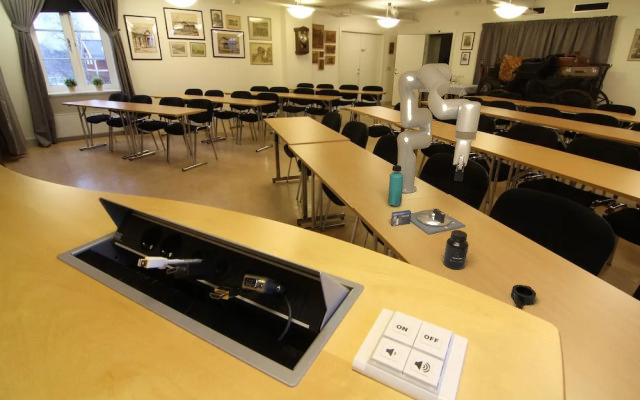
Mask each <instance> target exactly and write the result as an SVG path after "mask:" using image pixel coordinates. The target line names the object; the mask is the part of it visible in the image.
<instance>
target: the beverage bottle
mask: <svg viewBox="0 0 640 400" xmlns="http://www.w3.org/2000/svg"><path fill="white" fill-rule="evenodd" d="M391 170H392V171H393V172H391V173H390V174H389V181H388V182H389V183H388V195H387V196H388V198H387V199H388V200H387V203H388V204H389V205H391V206H401V204H402V200H403V193H402V191H403V190H402V188H403V174H402V173H400V171H401V166H399V165H397V164H396V165H393V166H392V168H391Z"/></svg>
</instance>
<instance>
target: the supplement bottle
mask: <svg viewBox="0 0 640 400" xmlns="http://www.w3.org/2000/svg"><path fill="white" fill-rule="evenodd" d="M467 240H468V234H467V233H466V231H463V230H460V229H454V230H451V232H450V237H449V238H447V239H446V243H445V248H444V255H443V261H442V262H443V263H442V264H443V265H444V266H445V267H447V268H449V269H451V270H462V269H463V268H464V267H465V266H466V261H467V255H468V251H469V245H470V244H469V242H468V241H467Z"/></svg>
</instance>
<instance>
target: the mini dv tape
mask: <svg viewBox="0 0 640 400" xmlns="http://www.w3.org/2000/svg"><path fill="white" fill-rule="evenodd" d="M411 213H412V211H411V209H407V210H399V211H392V212H391V220H390V226H391V227H399V226H407V225H410V224H411V222H410V219H411Z"/></svg>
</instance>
